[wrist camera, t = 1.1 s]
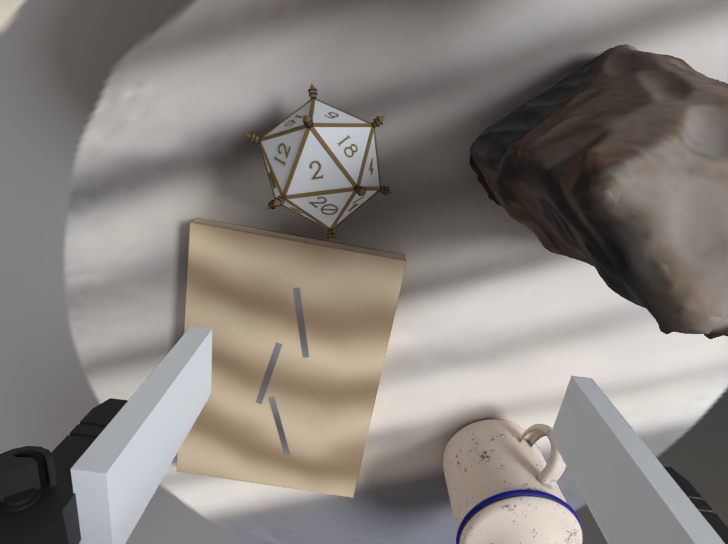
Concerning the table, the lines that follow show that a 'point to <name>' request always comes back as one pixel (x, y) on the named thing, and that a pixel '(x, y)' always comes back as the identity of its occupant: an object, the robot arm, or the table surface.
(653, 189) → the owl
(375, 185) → the game die
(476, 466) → the teacup with lid
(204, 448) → the board
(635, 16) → the table surface
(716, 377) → the table surface
